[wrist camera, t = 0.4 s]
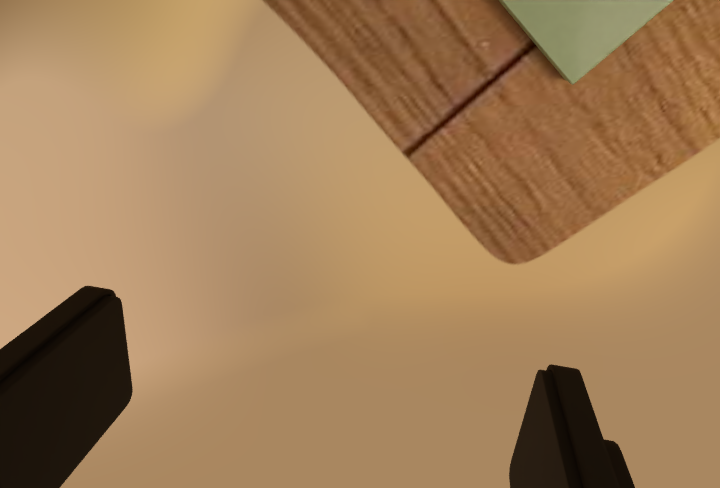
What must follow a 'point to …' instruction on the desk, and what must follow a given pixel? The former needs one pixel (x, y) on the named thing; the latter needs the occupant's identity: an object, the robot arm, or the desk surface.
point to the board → (580, 28)
